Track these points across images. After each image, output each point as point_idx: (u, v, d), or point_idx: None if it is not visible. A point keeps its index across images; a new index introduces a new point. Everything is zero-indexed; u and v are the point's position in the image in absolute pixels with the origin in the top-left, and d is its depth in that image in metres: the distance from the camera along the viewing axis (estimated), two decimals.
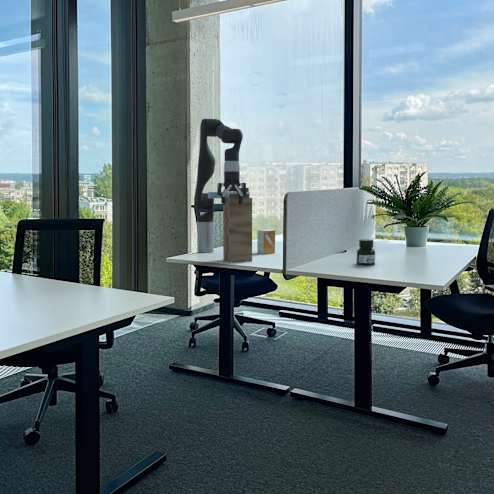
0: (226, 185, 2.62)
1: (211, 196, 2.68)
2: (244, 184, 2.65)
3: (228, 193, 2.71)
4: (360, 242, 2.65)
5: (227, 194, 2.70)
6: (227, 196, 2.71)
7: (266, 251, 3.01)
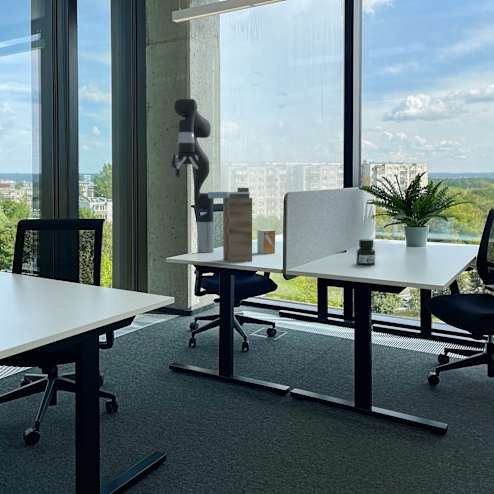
0: (180, 157, 2.55)
1: (211, 196, 2.68)
2: (199, 156, 2.59)
3: (228, 193, 2.71)
4: (360, 242, 2.65)
5: (227, 194, 2.70)
6: (227, 196, 2.71)
7: (266, 251, 3.01)
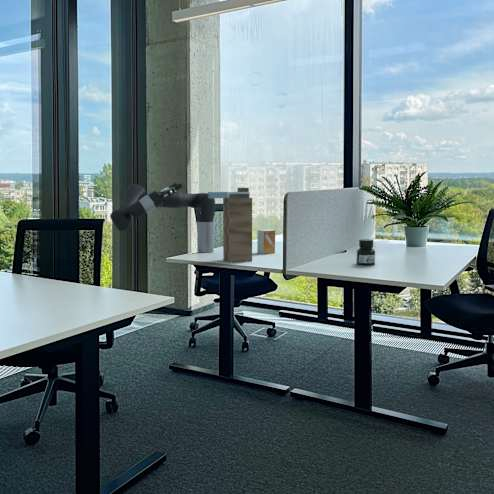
0: (163, 192, 2.57)
1: (211, 196, 2.68)
2: (158, 192, 2.65)
3: (228, 193, 2.71)
4: (360, 242, 2.65)
5: (227, 194, 2.70)
6: (227, 196, 2.71)
7: (266, 251, 3.01)
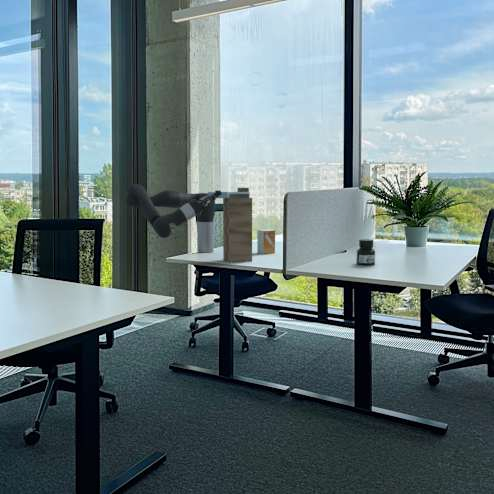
0: (204, 199, 2.65)
1: None
2: None
3: (228, 193, 2.71)
4: (360, 242, 2.65)
5: (227, 194, 2.70)
6: (227, 196, 2.71)
7: (266, 251, 3.01)
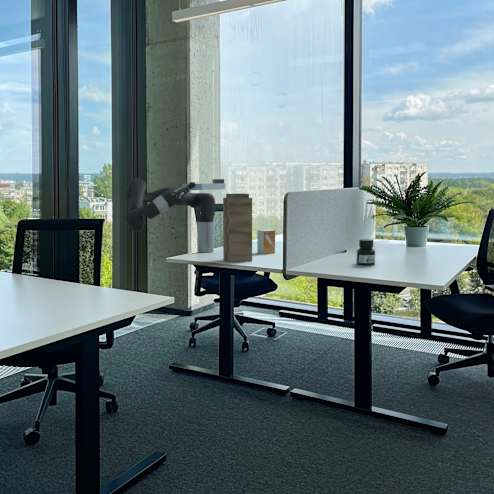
0: (178, 192, 2.59)
1: None
2: (174, 191, 2.67)
3: (203, 185, 2.64)
4: (360, 242, 2.65)
5: (201, 186, 2.64)
6: (202, 188, 2.64)
7: (266, 251, 3.01)
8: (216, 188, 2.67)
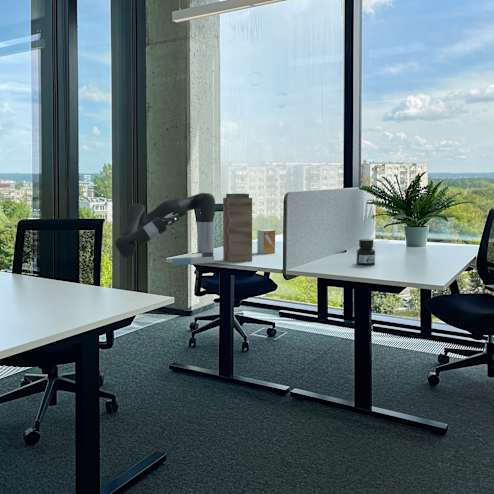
0: (167, 219, 2.59)
1: (174, 263, 2.64)
2: (162, 218, 2.68)
3: (192, 259, 2.68)
4: (360, 242, 2.65)
5: (191, 260, 2.67)
6: (191, 262, 2.67)
7: (266, 251, 3.01)
8: (205, 261, 2.70)
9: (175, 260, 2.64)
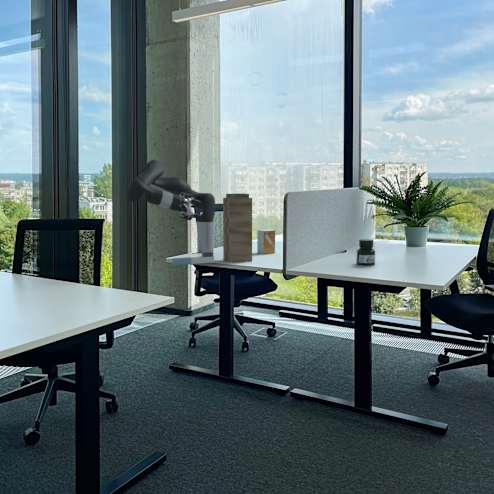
0: (183, 208, 2.54)
1: (174, 263, 2.64)
2: (182, 193, 2.59)
3: (192, 259, 2.68)
4: (360, 242, 2.65)
5: (191, 260, 2.67)
6: (191, 262, 2.67)
7: (266, 251, 3.01)
8: (205, 261, 2.70)
9: (175, 260, 2.64)
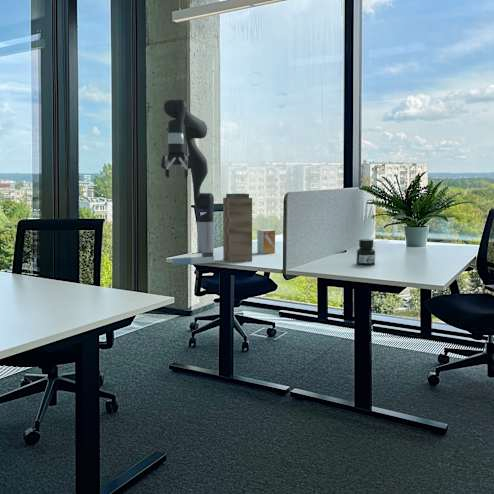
0: (170, 158, 2.55)
1: (174, 263, 2.64)
2: (189, 157, 2.58)
3: (192, 259, 2.68)
4: (360, 242, 2.65)
5: (191, 260, 2.67)
6: (191, 262, 2.67)
7: (266, 251, 3.01)
8: (205, 261, 2.70)
9: (175, 260, 2.64)
